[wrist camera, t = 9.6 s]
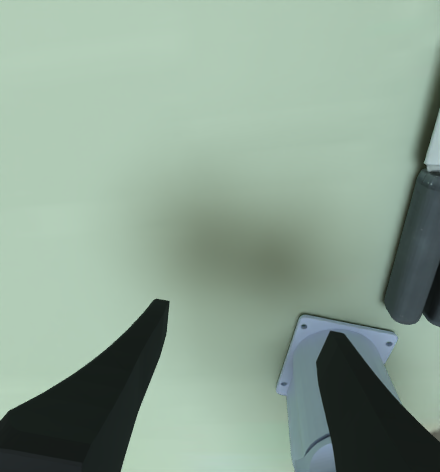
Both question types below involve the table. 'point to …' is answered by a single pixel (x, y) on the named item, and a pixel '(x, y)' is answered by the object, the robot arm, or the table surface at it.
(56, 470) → the robot arm
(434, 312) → the can opener
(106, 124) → the table surface
